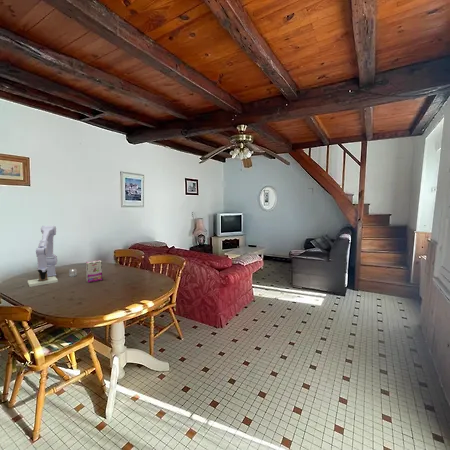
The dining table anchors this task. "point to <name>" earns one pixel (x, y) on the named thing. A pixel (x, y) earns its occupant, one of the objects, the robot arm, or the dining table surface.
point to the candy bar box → (94, 271)
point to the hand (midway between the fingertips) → (42, 278)
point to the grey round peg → (72, 272)
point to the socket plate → (37, 282)
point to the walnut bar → (43, 279)
